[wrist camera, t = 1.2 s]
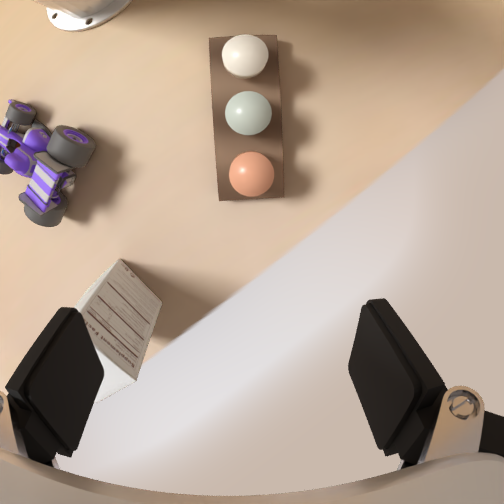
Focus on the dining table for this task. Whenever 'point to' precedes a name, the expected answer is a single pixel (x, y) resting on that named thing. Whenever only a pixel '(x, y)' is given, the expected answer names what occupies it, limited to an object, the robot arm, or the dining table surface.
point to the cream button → (244, 56)
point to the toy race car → (42, 161)
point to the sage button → (248, 113)
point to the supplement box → (119, 324)
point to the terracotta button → (251, 173)
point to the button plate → (235, 143)
